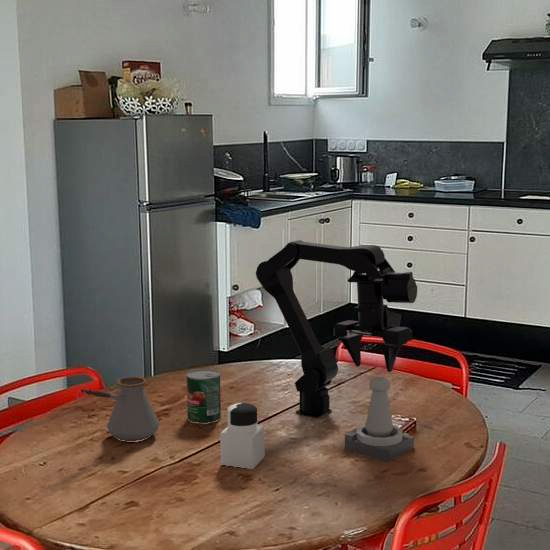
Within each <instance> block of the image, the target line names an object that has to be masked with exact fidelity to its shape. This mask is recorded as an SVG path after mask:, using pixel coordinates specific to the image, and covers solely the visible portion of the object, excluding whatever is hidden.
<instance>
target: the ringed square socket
mask: <svg viewBox="0 0 550 550" xmlns="http://www.w3.org/2000/svg"><path fill="white" fill-rule="evenodd" d="M365 425H366V423H364V424H362V425H360V426H357V427H356V428H354V429H351V430H350V431H348V432H346V433H344V451H347V452H351V453H355V454H358V455H363V456H366V457H369V458H372V459H377V460H380V461H383V462H387V463H391V462H392V461H394V460H395V459H397V458H400V457H401V456H403V455H405V454H406V453H407V452H410V451H411V450H413V449H414V448H415V436H414V435H410V434H409V433H407V432H405V433H403V429H402V428H400V427H399V426H398V425H394V424H393V429H392V431H391V433H390V436H389V437H385V438H381V437H372V436H369V434H368V432H367V430H366V428H365Z"/></svg>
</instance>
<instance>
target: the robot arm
mask: <svg viewBox="0 0 550 550" xmlns="http://www.w3.org/2000/svg"><path fill="white" fill-rule="evenodd" d="M300 260H304V261H312V262H320V263H325V264H326V263H327V264H333V265H339V266H342V267H345V268H346V269H348V270H350V271H353V273H352V274H351V276H350V277H349V278H348V279H347V282H348V283H356V291H357V292H356V293H357V306H355V307H354V313H355V312H356V313H358V320H350V319H348V320H344V321H341V322H337V323H335V325H334V327H333V336H334V337H337V338H338V341H341V343H342V344H343V346H344V347H345V349H346V350H347V352H348V353H349V356H350V357H351V360H352V361H353V363H354V365H355V366H356V367H360V366H361V363H362V362H361V361H362V359H361V357H362V356H361V355H362V354H361V341H362V339H363V336H369V337H376V338H381V339H382V341H383V342H384V343H383V344H382V345H381V346H382V351H383V358H384V364H385V368H386V369H387V373H391V372H392V371H393V369H394V366H395V362H396V360H397V356H398V355H399V352H400V349H401V348H402V346H403V345H407V344H408V342H411V341H413V330H412V329H410V327H406V326H400V324H401V318H402V314H401V313H396V312H393V311H389V307H388V304H385V303H384V300H385V302H387V303H397V304H414V303H415V302H416V299H417V297H418V285H417V283H416V279H415V278H414V277H413V272H412V271H404V272H396V271H395V270H394V268H393V267H392V266H391V264H390V262H389V261H388V260H387V258H385V253H384V251H383V249H382V248H381V246H379V245H376V244H369V245H368V244H365V245H357V246H356V245H355V246H340V245H333V244H326V243H325V244H324V243H315V242H308V241H303V240H301V239H300V240H299V239H298V240H294V241H290V242H288V243H287V244H286V245H285V246H284V247H282V249H281V250H279V251H278V252H277V253H275V254H274V255H272V256H271V257H269V259H267V260H265V261H262V262H260V263H259V264H258V265H257V268H256V271H255V276H256V279H257V281H258V282H259V284H260V285H261V287H262V288H263V289H264V291H265V292H267V293H268V294H269V295H270V296H271V297H272V298H273V299H274V300H275V302H276V304H277V306H278V308H279V310H280V312H281V314H282V316H283V318H284V320H285V322H286V323H285V324H287V327H288V329H289V330H290V333H291V335H292V338H293V339H294V341H295V343H296V346H297V348H298V350H299V351H300V361H301V362H300V363H301V364H300V365H301V369H302V373H303V375H302V376H300V377H299V378H298V379H297V380H296V381H295V382H294V385H295V389H296V391H297V392H298V393H299V409H297V410H295V414H298V415H301V416H306V417H308V418H309V417H310V418H314V419H319V418H321V417H324V416H325V415H327V414H329V413H332V412H333V410H332V409H331V408H330V395H329V388H327V387H328V386H330V385H331V383H332V381H333V379H335V377H336V376H337V374H338V372H339V365H338V362H339V360H338V359H337V358H336V357H335V354H334V351H333V349H332V348H331V347H332V346H329V347H327V348H325V347H324V346H322V345H321V344H320V342H319V341H318V339H317V336H316V334H315V333H314V330H313V328H312V326H311V324H310V321H309V320H308V317H307V316H306V313H305V311H304V310H303V308H302V306H301V303H300V301H299V299H298V297H297V295H296V293H295V291H294V278H293V274H292V271H291V270H293V268H294V267H296V266H297V264H298V263H299V261H300ZM386 328H387V329H386Z"/></svg>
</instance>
